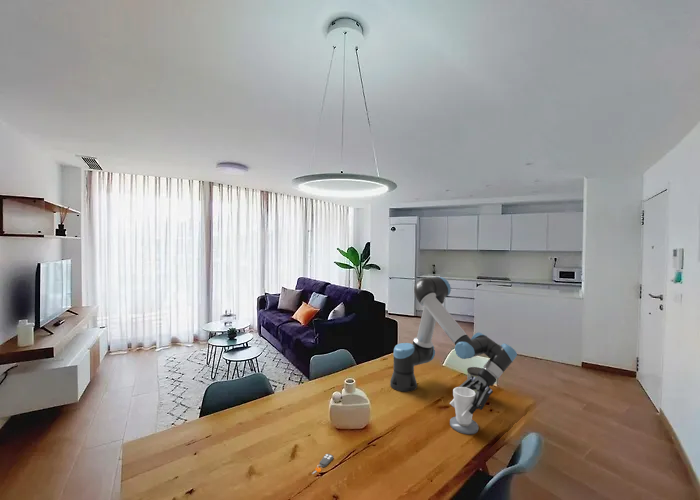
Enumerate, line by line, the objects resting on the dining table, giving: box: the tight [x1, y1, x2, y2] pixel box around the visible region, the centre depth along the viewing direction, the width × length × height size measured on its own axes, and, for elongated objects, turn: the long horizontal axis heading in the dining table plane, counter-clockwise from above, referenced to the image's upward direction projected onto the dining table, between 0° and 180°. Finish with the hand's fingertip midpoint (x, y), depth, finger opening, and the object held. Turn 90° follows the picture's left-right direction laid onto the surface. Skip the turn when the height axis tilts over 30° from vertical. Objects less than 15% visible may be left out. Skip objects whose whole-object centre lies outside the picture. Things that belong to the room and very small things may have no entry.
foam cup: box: [452, 386, 476, 424], centre depth 137 cm, size 10×9×13 cm
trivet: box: [449, 415, 479, 435], centre depth 137 cm, size 12×12×1 cm
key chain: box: [312, 453, 334, 475], centre depth 111 cm, size 13×4×2 cm, turn 153°
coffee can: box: [466, 366, 482, 394], centre depth 165 cm, size 10×10×14 cm
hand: (457, 411), depth 136 cm, fingers closed on foam cup, 9 cm apart
